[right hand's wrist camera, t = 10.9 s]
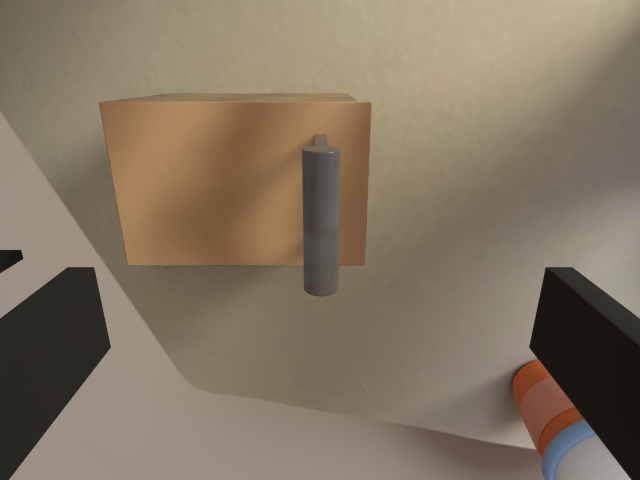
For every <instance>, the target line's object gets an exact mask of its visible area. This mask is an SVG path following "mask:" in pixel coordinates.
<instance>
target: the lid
mask: <svg viewBox="0 0 640 480" xmlns="http://www.w3.org/2000/svg"><path fill="white" fill-rule="evenodd" d="M99 105H100V111H101V116H102V122H103V128H104V133H105V139H106V145H107V150H108V156H109V162H110V167H111V173H112V179H113V184H114V190H115V196H116V201H117V207H118V213H119V218H120V224H121V230H122V235H123V241H124V247H125V252H126V258H127V264H128V265H304V290H305V291H306V292H307V293H308V294H311V295H314V296H328V295H331V294H334V293H335V292H336V291H337V290H338V267H339V265H365V248H366V224H367V199H368V175H369V151H370V126H371V102H369V101H105V102H99Z"/></svg>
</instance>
